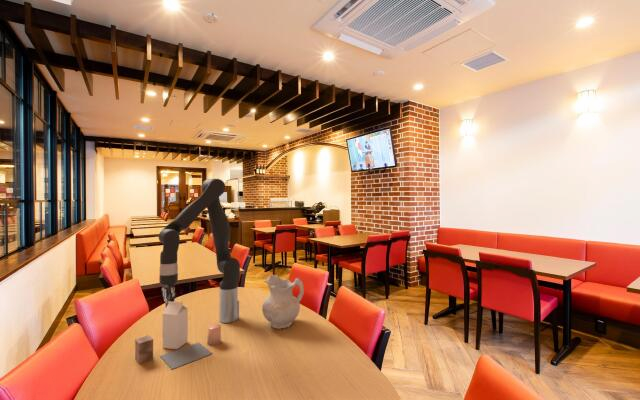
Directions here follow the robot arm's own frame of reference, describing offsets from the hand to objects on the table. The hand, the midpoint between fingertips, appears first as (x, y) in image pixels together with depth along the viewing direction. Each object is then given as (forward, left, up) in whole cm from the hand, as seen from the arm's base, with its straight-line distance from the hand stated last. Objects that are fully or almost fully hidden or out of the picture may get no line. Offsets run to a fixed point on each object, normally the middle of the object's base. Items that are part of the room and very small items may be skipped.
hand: (168, 310), depth 135 cm
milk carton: (0, +8, -13) cm, 16 cm away
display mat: (0, +20, -13) cm, 24 cm away
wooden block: (+13, +11, -13) cm, 22 cm away
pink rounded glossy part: (-13, +18, -13) cm, 26 cm away
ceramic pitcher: (-47, +25, -13) cm, 55 cm away
